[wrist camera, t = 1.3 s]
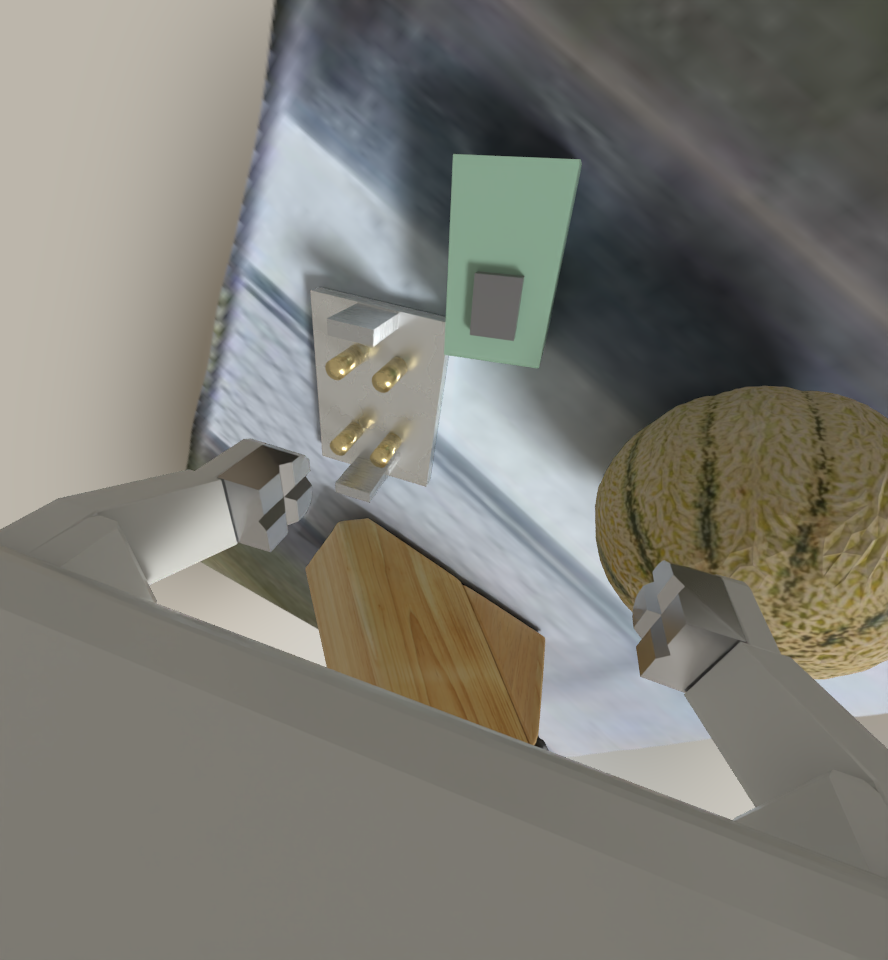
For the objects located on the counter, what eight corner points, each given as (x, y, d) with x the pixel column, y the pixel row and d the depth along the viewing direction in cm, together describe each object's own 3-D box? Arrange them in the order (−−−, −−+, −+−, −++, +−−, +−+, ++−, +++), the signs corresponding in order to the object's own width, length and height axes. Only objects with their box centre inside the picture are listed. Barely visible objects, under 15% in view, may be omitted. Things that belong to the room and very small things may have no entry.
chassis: (319, 286, 27) (274, 303, 23) (454, 318, 26) (430, 342, 22) (329, 448, 36) (297, 480, 32) (430, 478, 35) (410, 516, 31)
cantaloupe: (920, 364, 21) (1346, 587, 9) (772, 552, 29) (892, 786, 18) (625, 334, 24) (662, 473, 12) (572, 513, 33) (565, 690, 21)
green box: (477, 160, 21) (449, 153, 17) (581, 165, 20) (580, 158, 16) (464, 330, 27) (441, 358, 22) (545, 341, 25) (537, 372, 21)
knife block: (542, 698, 52) (504, 1132, 28) (317, 550, 46) (37, 930, 23) (609, 676, 44) (636, 1233, 21) (354, 500, 39) (2, 972, 16)
